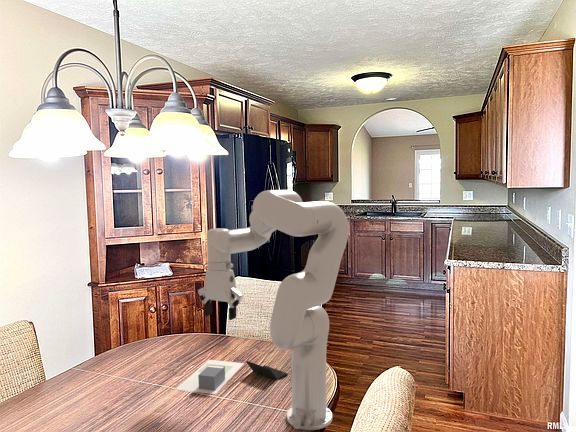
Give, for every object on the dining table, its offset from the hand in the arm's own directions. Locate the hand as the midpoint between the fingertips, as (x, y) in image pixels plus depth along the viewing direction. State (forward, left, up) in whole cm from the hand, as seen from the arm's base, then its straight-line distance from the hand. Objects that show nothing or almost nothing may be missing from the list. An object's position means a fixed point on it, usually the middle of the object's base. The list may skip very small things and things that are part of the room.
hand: (220, 316), depth 143 cm
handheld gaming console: (+6, -14, -22) cm, 26 cm away
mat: (+1, +4, -21) cm, 21 cm away
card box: (-5, +1, -21) cm, 21 cm away
